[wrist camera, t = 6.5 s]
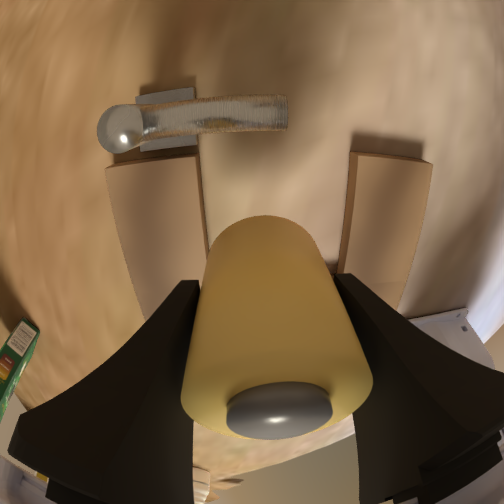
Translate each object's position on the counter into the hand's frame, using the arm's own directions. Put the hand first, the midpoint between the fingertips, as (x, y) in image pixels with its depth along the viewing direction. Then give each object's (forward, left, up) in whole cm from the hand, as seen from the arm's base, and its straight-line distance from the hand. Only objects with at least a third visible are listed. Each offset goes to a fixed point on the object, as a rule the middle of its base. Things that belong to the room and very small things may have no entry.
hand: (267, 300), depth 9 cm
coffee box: (+26, +12, -7) cm, 30 cm away
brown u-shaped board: (-1, +2, -7) cm, 7 cm away
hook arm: (+3, -6, -7) cm, 10 cm away
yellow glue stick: (0, 0, -2) cm, 2 cm away
